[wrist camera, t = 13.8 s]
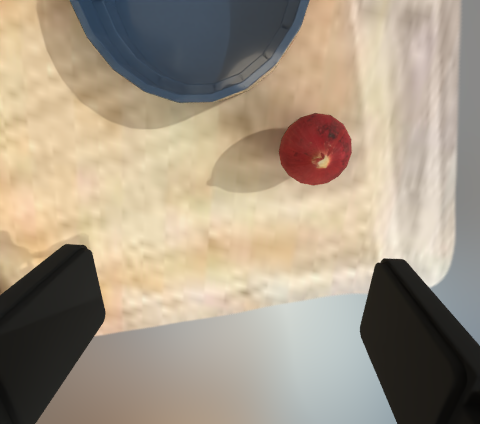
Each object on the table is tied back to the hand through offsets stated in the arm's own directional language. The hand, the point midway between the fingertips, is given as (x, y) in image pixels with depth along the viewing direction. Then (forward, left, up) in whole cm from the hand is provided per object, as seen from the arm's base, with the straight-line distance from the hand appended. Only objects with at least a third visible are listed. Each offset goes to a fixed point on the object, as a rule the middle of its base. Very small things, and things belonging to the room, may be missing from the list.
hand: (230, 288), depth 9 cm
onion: (+5, +3, -21) cm, 21 cm away
